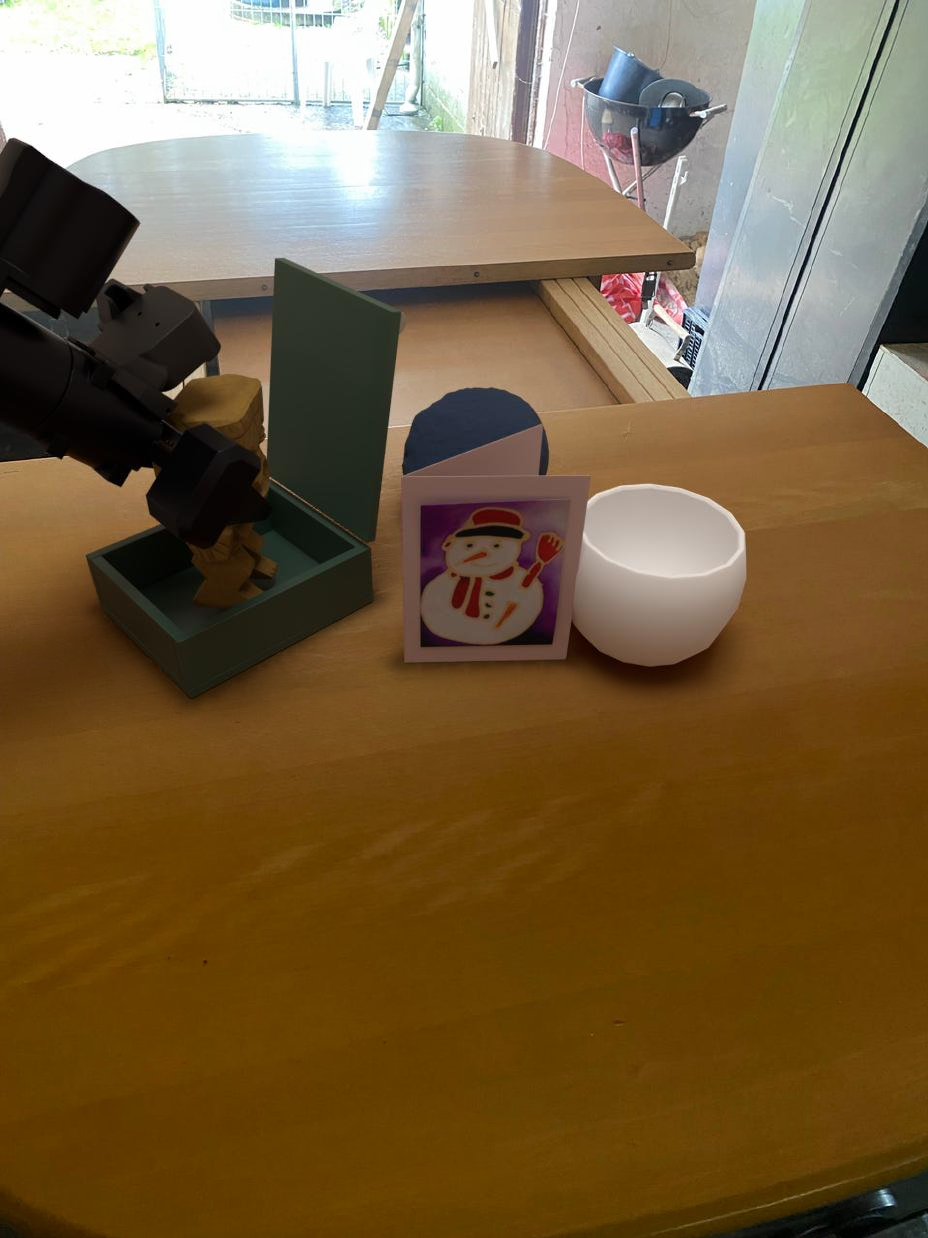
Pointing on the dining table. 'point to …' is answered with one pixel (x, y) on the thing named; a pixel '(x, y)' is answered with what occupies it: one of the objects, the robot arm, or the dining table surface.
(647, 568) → the cup
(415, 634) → the greeting card
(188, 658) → the green open box
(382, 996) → the dining table surface
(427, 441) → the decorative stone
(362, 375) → the box lid
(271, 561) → the figurine
